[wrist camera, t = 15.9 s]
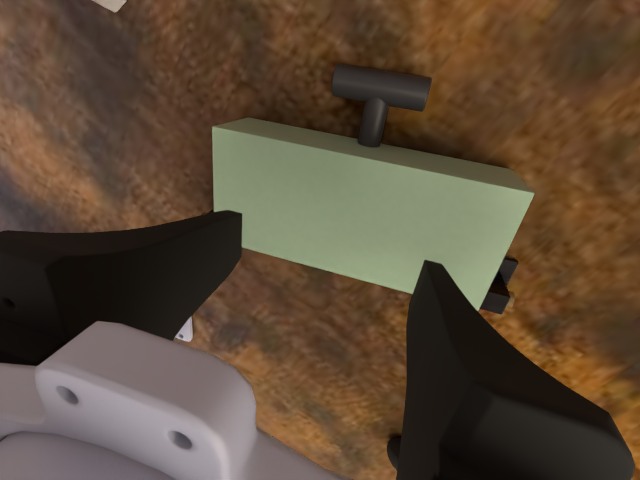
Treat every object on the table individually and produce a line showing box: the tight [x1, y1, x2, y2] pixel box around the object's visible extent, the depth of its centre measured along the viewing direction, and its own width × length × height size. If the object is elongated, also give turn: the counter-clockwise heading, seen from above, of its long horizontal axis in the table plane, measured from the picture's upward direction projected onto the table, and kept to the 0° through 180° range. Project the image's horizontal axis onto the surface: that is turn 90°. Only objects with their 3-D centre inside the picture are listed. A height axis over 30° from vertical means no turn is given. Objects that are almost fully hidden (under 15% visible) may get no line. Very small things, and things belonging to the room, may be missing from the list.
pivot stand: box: [201, 209, 518, 314], centre depth 20 cm, size 3×20×3 cm, turn 82°
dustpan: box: [212, 63, 535, 311], centre depth 17 cm, size 10×15×4 cm
